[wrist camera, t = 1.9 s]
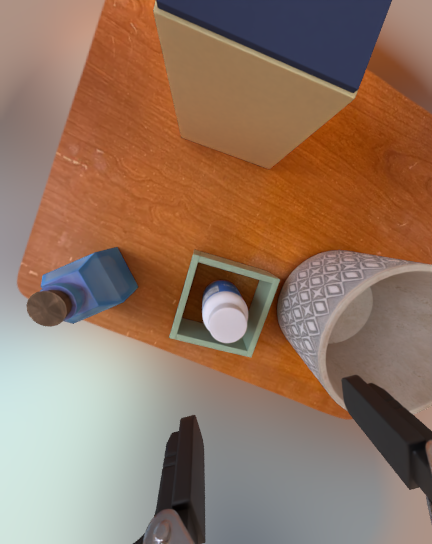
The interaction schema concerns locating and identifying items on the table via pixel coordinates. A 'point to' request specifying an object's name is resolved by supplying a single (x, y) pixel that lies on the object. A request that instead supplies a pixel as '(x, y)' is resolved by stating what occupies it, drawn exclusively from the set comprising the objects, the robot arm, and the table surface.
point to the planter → (362, 323)
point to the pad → (296, 31)
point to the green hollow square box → (256, 313)
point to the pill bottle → (224, 311)
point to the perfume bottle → (82, 289)
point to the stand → (241, 94)
